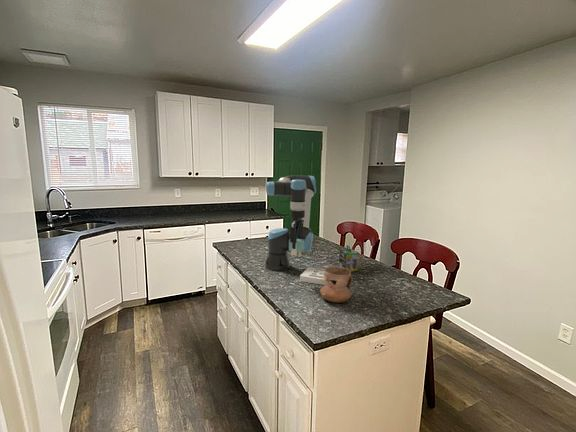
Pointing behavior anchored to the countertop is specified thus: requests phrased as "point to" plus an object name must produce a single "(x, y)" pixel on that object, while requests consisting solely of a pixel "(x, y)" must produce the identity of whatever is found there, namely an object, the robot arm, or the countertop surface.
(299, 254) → the teal block figurine
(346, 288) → the ceramic jug
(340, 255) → the chalk box
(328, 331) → the countertop surface
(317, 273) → the socket
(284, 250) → the robot arm
